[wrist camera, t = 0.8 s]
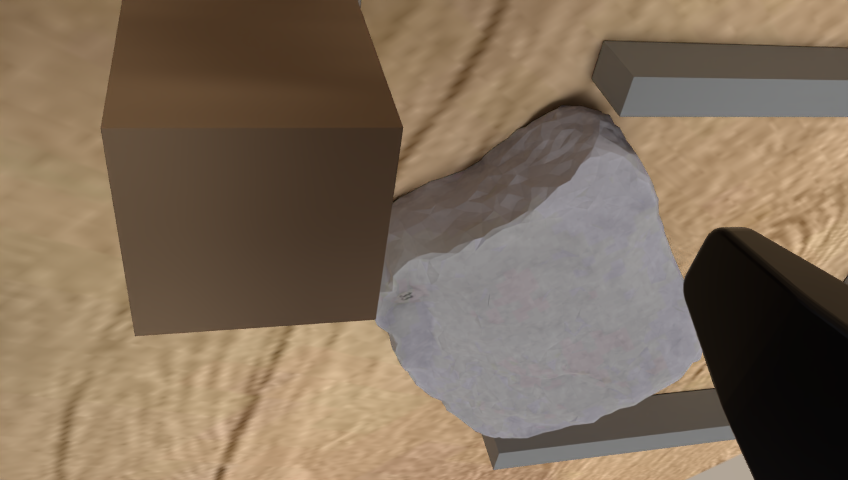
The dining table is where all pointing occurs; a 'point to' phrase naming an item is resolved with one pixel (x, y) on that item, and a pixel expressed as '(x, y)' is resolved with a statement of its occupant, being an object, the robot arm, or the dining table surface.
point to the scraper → (249, 163)
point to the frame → (686, 97)
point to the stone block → (537, 282)
